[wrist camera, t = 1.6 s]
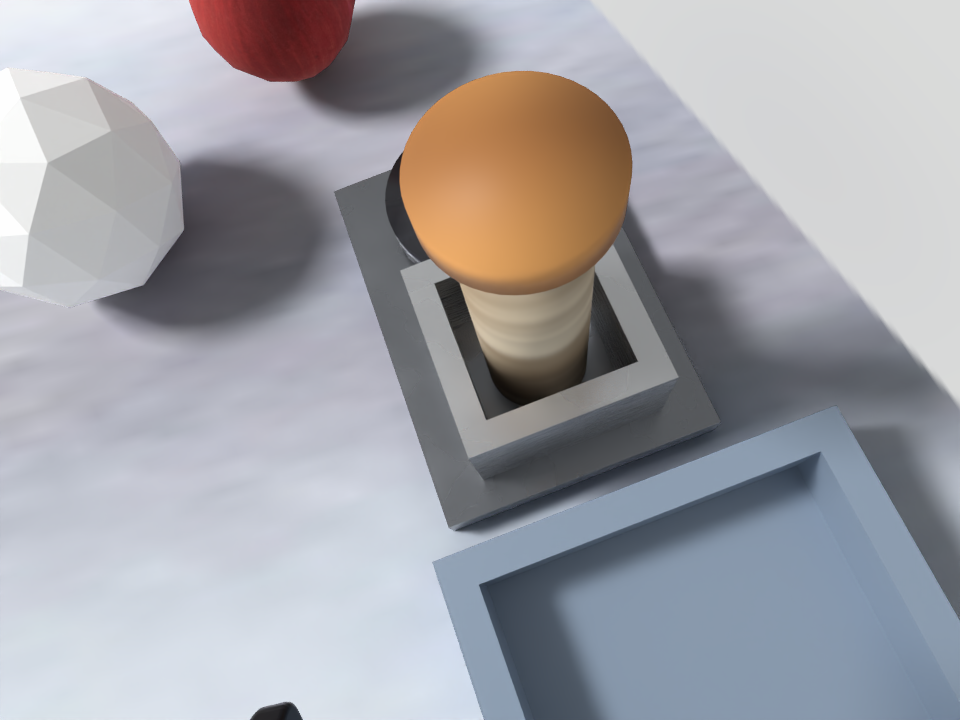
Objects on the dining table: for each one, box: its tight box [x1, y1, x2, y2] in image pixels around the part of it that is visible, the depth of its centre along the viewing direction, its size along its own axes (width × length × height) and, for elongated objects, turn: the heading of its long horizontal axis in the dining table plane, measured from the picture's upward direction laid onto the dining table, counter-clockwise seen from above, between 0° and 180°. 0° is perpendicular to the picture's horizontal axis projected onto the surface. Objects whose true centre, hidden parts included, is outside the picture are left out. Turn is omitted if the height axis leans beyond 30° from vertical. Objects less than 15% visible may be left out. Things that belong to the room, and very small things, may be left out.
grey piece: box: [334, 151, 721, 531], centre depth 23 cm, size 13×9×4 cm
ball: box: [0, 68, 184, 308], centre depth 24 cm, size 8×8×8 cm
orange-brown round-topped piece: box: [400, 71, 632, 406], centre depth 18 cm, size 4×4×11 cm
